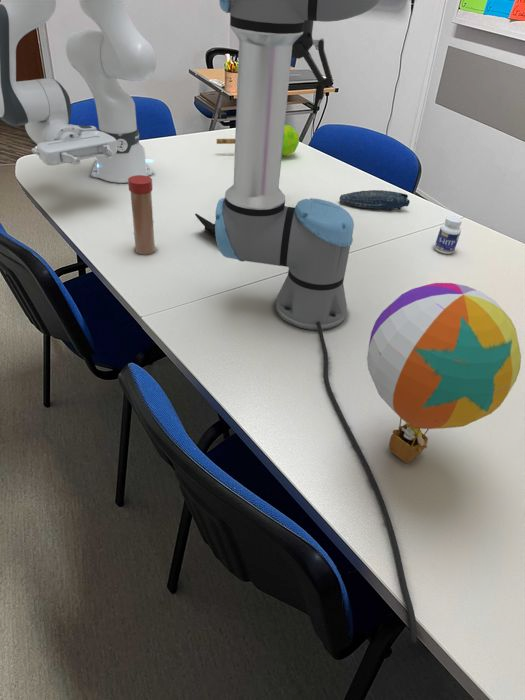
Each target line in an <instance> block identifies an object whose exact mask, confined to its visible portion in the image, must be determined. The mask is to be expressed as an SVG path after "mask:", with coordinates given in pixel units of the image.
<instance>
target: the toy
mask: <svg viewBox="0 0 525 700" xmlns="http://www.w3.org/2000/svg"><path fill="white" fill-rule="evenodd" d="M367 347H368V348H367V354H366V355H367V356H366V362H367V370H368V372H369V375H370V377H371V379H372V380H371V381H372V382H373V385H374V387H375V389H376V391H377V394H378V395H379V397H381V399H382V401H384V402H385V403H386V405H387V406H388V407H389V408H390V409H391V410H392V411H393V412H394V413H395V414H396V415H397V416H398V417H399V418H400V419H399V425H398V428H397V429H393V430H392V434H391V436H390V440H389V444H388V449H389V451H390V453H392V454H394V455H395V456H396V457H397V458H399V460H401V461H402V462H404V463H405V464H409V463H410V462H412V461H413V460H414V459H415V458H417V457H418V456H419V455H420V454H421V453H423V451H424V449H427V447H428V440H429V438H428V437H427V436H426V434H427V433H428V431H429V430H437V429H453V428H461V427H466V426H467V425H469V424H472V423H475V422H477V421H478V420H481V419H483V418H485V417H487V416H489V415H492V413H494V412H495V411H496V410H497V409H498V408H500V407H501V405H502V404H503V402H504V401H505V399H506V398H507V396H508V395H509V394H510V391H512V388H513V387H514V385H515V383H516V382H517V379H518V376H519V373H520V371H521V362H522V354H521V349H520V343H519V338H518V333H517V329H516V327H515V324H514V323H513V321H512V319H511V317H510V316H509V315H508V314H507V312H506V311H505V310H504V309H503V307H502V306H500V304H499V303H498V302H497V301H496V300H495V299H493V298H491V297H490V296H489V295H487V294H485V293H484V292H483V291H481V290H478V289H475V288H473V287H470V286H467V285H464V284H458V283H453V282H434V283H429V284H424V285H421V286H418V287H414V288H411V289H409V290H407V291H405V292H403V293H402V294H401V295H399V296H398V297H397V298H396V299H394V301H393V302H392V303H390V304H389V305H388V306H387V307H386V308H385V309H383V310H382V311H381V313H380V314H379V315H378V317H377V319H376V320H375V321H374V324H373V327H372V330H371V332H370V338H369V342H368V346H367ZM402 420H403V421H404V422H405V423H404V424H403V425H402ZM421 429H422V430H426V431H425V432H424V433H423V432H422V430H421Z"/></svg>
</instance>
